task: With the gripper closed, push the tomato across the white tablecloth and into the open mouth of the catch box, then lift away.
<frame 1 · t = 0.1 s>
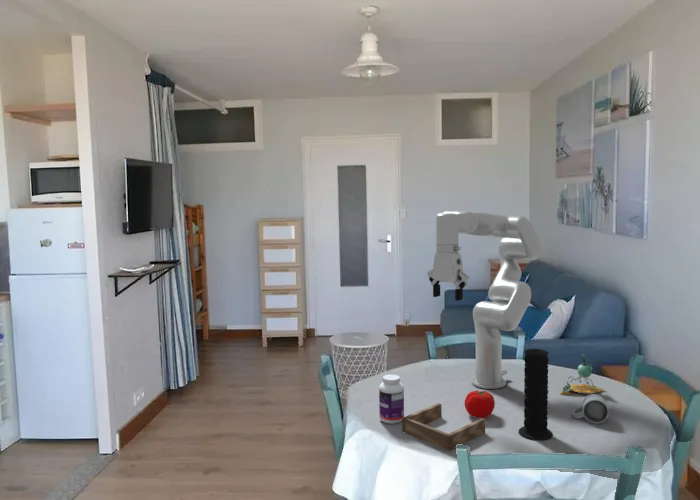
hand: (447, 298, 199), 37 cm above the table, fingers open, 9 cm apart
handle grip: (535, 434, 175), on the table
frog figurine: (581, 392, 209), on the table
ceramic mug: (590, 419, 185), on the table
catch box: (444, 432, 178), on the table
pill bottle: (391, 420, 188), on the table
tomato: (480, 416, 190), on the table
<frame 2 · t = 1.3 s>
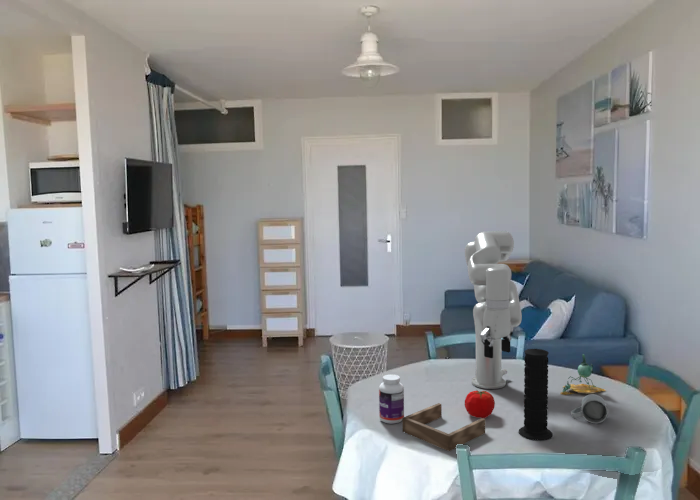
hand: (497, 354, 194), 19 cm above the table, fingers open, 9 cm apart
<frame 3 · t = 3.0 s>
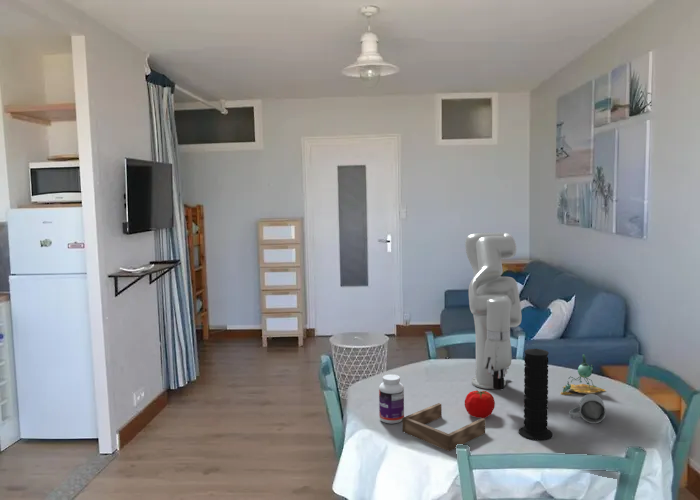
hand: (498, 388, 194), 7 cm above the table, fingers closed
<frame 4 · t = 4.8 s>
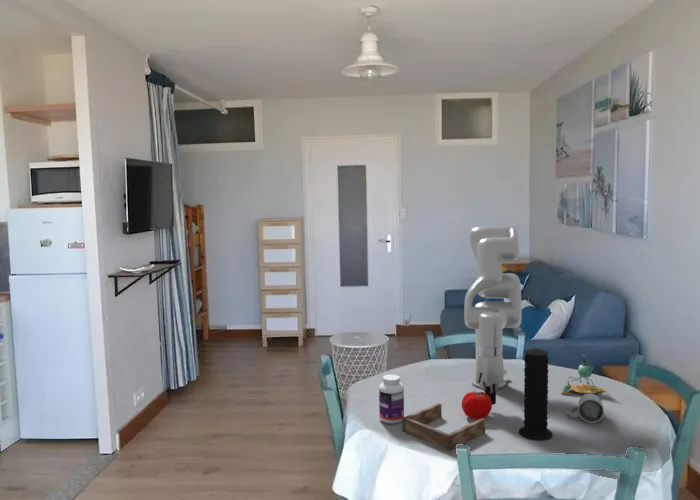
hand: (490, 403, 193), 3 cm above the table, fingers closed
tomato: (477, 417, 189), on the table, touching gripper
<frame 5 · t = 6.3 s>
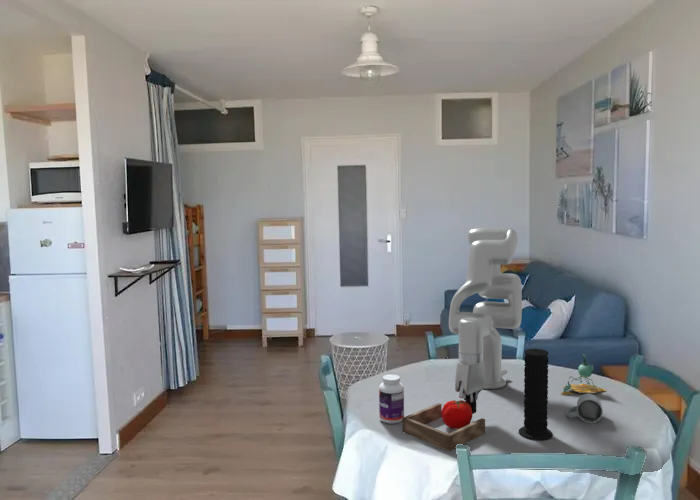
hand: (470, 412, 186), 3 cm above the table, fingers closed
tomato: (457, 427, 181), on the table, touching gripper
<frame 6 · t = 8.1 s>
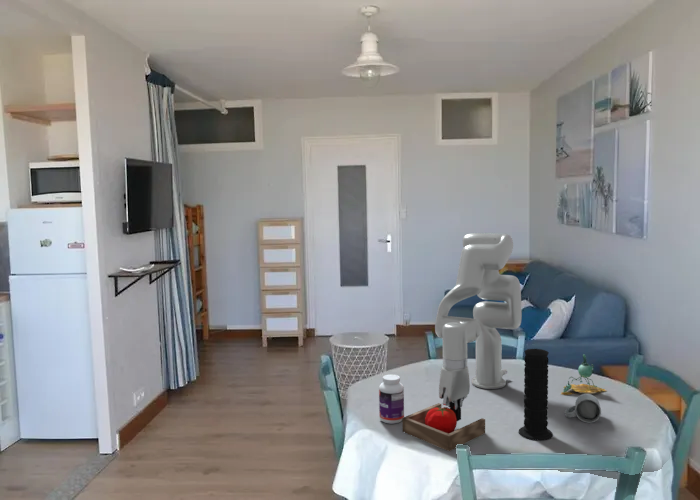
hand: (455, 419, 181), 3 cm above the table, fingers closed
tomato: (441, 435, 176), on the table, touching gripper
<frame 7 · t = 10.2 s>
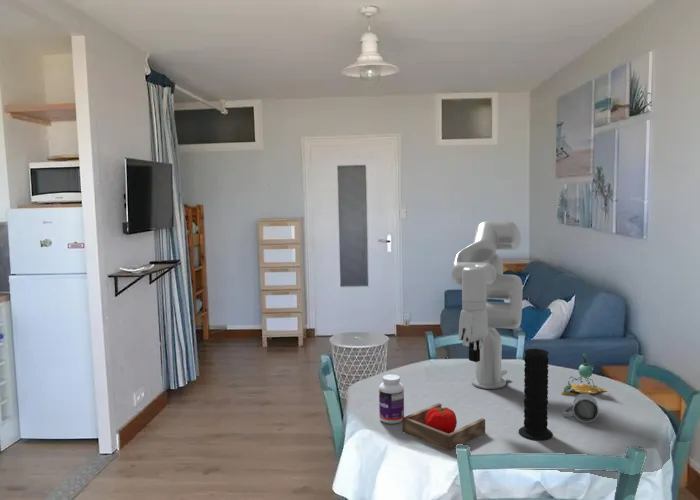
hand: (474, 360, 186), 19 cm above the table, fingers closed
tomato: (441, 435, 176), on the table
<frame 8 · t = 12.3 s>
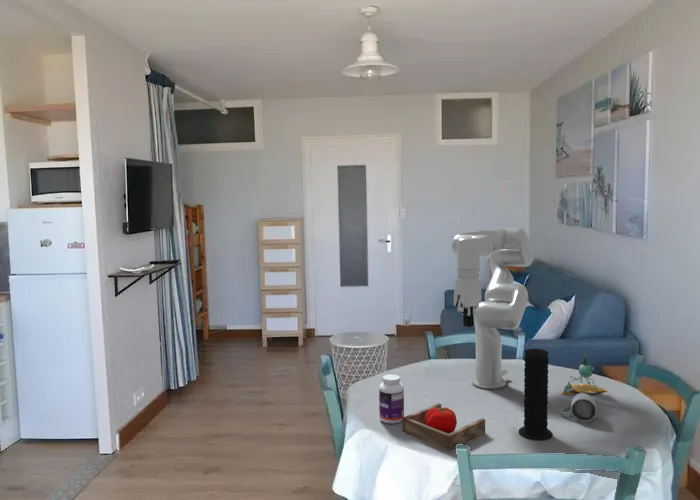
hand: (468, 326, 199), 27 cm above the table, fingers closed
at the end: tomato inside the target area on the catch box (1.8 cm from its centre), point 0.0 cm above the catch box's base; tomato moved 20.0 cm from its start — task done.
